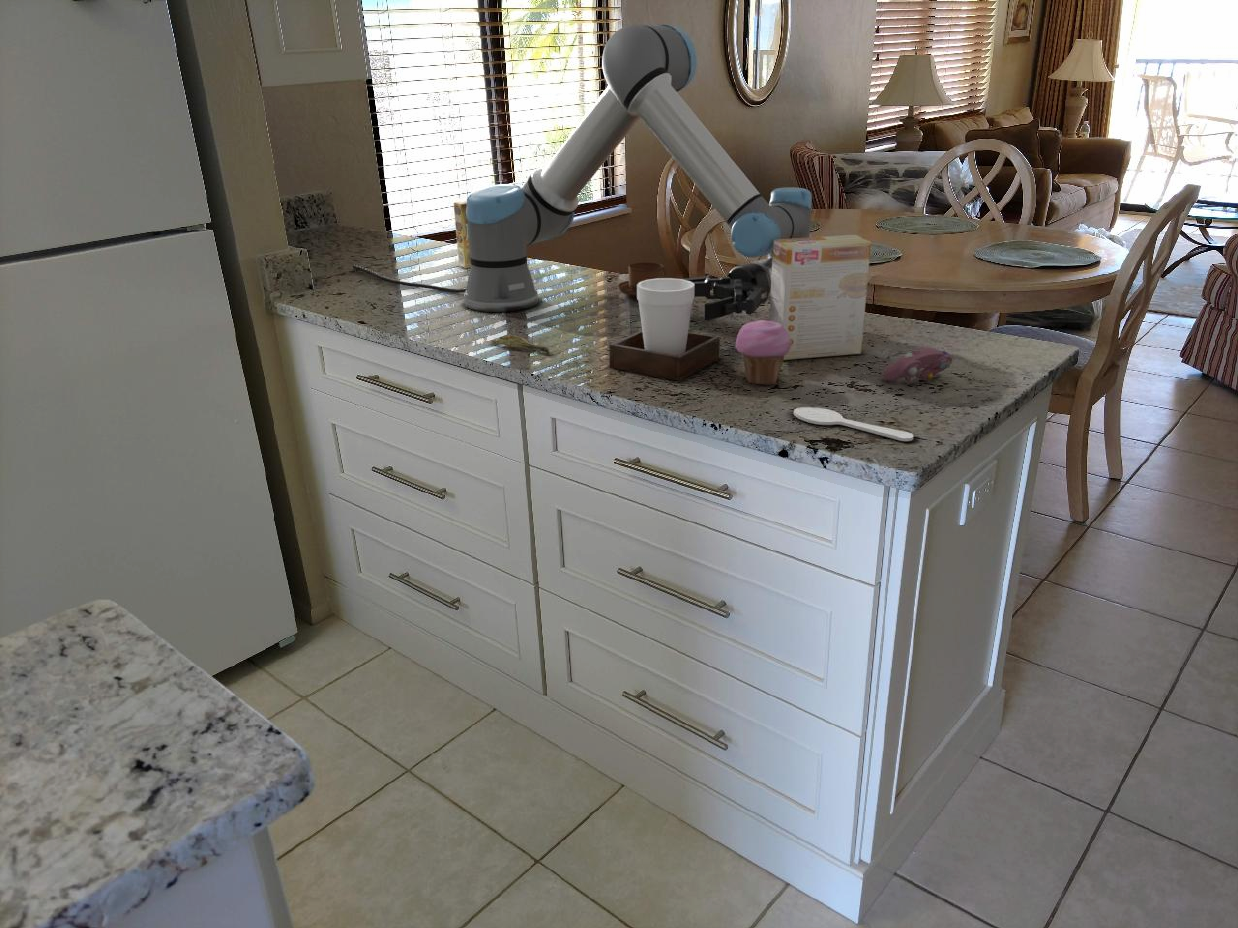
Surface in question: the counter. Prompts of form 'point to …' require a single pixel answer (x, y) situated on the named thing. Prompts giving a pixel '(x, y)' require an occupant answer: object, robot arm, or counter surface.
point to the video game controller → (918, 365)
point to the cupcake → (763, 350)
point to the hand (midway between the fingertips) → (675, 305)
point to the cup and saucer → (641, 276)
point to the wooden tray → (664, 356)
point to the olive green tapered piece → (518, 343)
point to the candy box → (462, 234)
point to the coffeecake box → (820, 293)
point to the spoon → (847, 422)
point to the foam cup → (665, 313)
